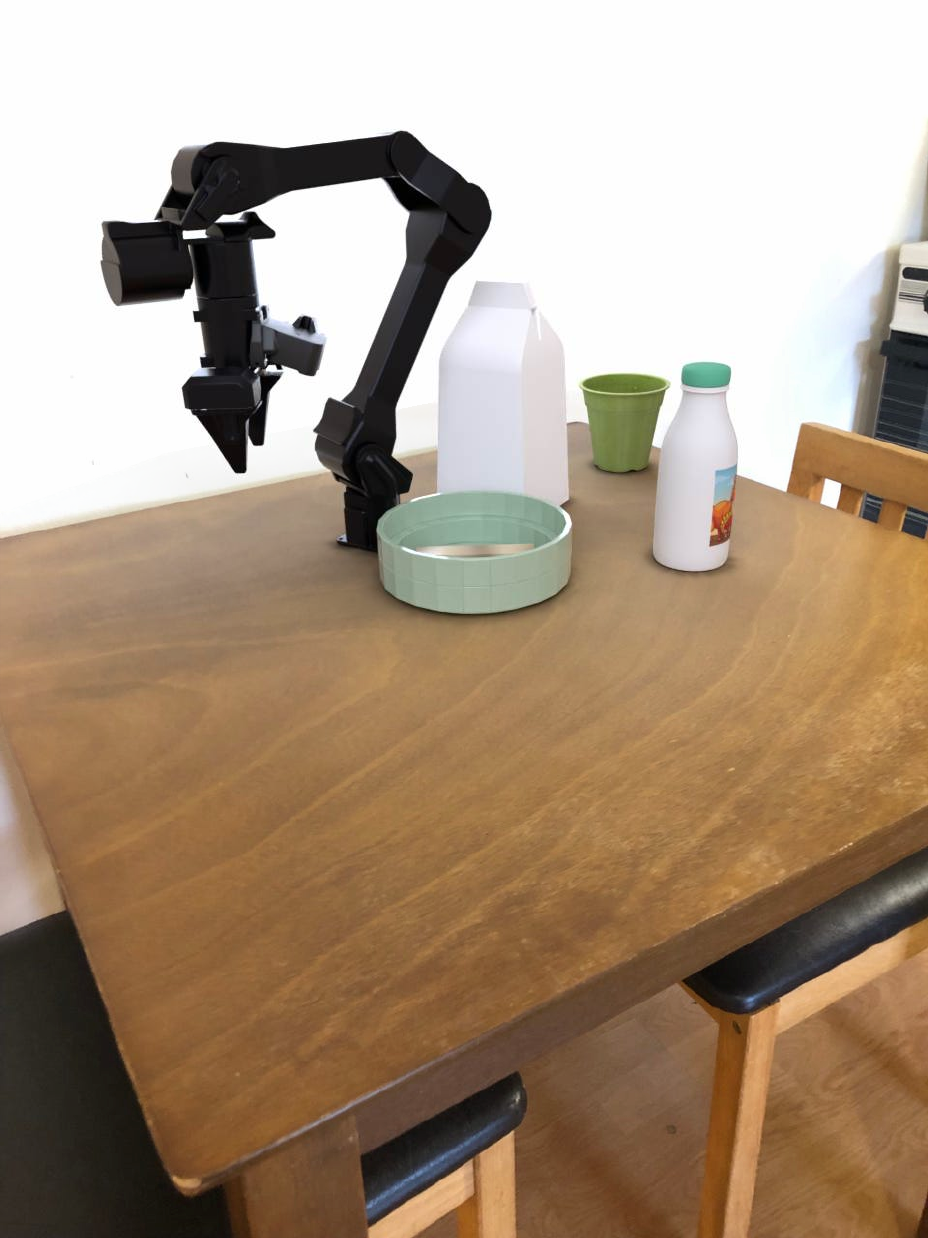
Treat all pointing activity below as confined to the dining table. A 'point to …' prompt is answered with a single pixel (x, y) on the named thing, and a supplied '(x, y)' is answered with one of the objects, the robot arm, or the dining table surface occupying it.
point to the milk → (503, 398)
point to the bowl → (474, 523)
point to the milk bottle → (697, 474)
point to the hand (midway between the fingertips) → (250, 458)
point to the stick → (475, 550)
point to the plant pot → (623, 417)
